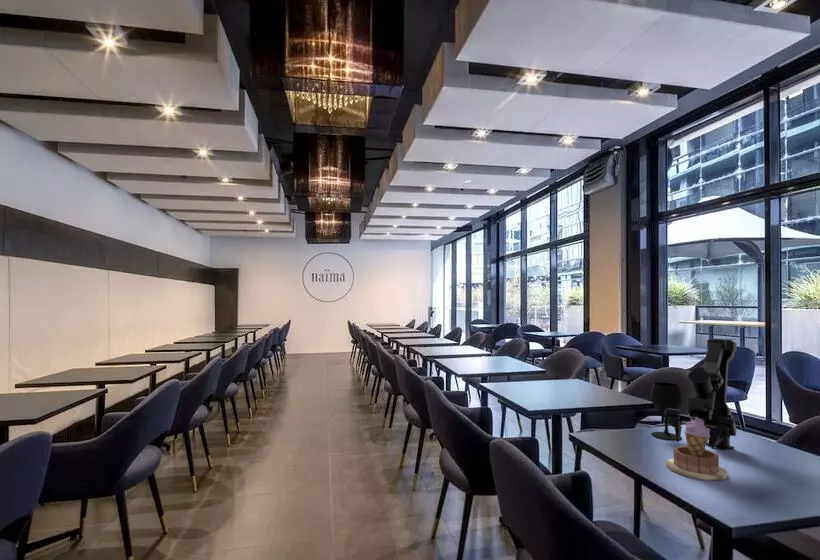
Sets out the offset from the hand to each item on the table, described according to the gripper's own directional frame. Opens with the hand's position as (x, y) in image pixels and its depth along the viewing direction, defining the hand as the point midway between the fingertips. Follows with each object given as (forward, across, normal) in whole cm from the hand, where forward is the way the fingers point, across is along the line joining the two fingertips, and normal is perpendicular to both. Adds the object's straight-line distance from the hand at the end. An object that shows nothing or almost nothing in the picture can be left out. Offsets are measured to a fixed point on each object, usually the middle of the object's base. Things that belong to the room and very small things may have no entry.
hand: (694, 444), depth 139 cm
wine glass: (-18, -17, +30) cm, 39 cm away
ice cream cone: (+4, 0, +6) cm, 7 cm away
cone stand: (+5, 0, +7) cm, 8 cm away
